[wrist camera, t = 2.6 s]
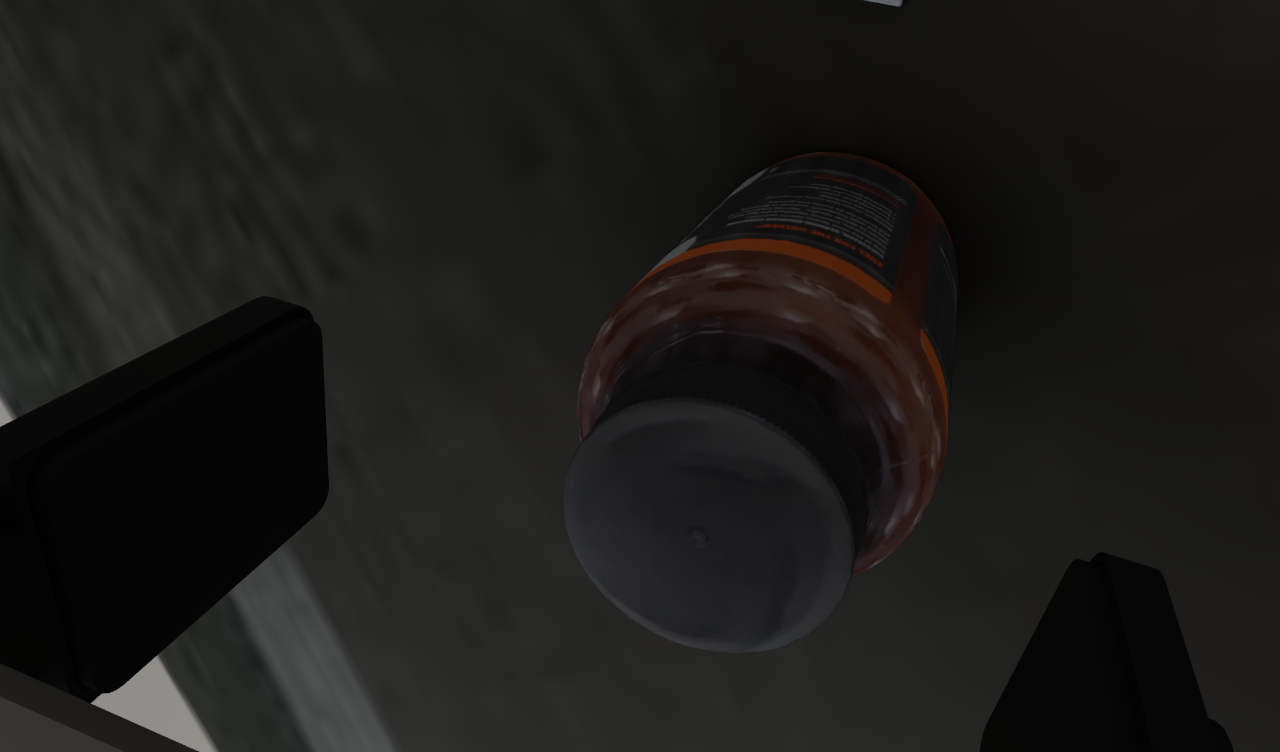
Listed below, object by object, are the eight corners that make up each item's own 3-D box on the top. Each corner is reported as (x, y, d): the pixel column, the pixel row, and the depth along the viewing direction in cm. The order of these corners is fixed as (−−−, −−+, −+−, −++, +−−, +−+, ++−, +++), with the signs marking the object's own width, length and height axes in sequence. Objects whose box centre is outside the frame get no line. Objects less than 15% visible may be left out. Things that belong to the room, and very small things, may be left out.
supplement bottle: (681, 181, 21) (428, 360, 11) (932, 114, 18) (880, 269, 9) (744, 398, 23) (573, 710, 13) (980, 364, 20) (981, 719, 11)
